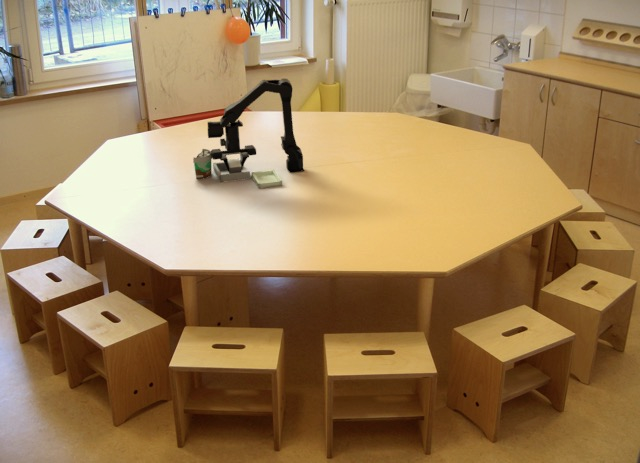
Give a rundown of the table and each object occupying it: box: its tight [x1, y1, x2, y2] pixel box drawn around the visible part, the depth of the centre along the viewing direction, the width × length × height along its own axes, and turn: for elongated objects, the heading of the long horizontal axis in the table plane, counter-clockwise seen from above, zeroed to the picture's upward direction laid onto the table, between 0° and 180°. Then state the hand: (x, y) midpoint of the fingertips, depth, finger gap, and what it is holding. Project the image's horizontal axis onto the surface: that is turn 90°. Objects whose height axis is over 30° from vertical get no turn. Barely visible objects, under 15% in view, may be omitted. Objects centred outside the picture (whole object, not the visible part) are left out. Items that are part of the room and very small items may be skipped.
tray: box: [250, 169, 283, 189], centre depth 321 cm, size 10×14×2 cm
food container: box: [192, 148, 213, 180], centre depth 326 cm, size 12×6×10 cm, turn 168°
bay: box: [212, 161, 251, 183], centre depth 329 cm, size 13×16×3 cm
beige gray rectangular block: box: [227, 158, 243, 174], centre depth 329 cm, size 5×9×5 cm, turn 12°
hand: (234, 170), depth 329 cm, fingers closed on beige gray rectangular block, 5 cm apart
